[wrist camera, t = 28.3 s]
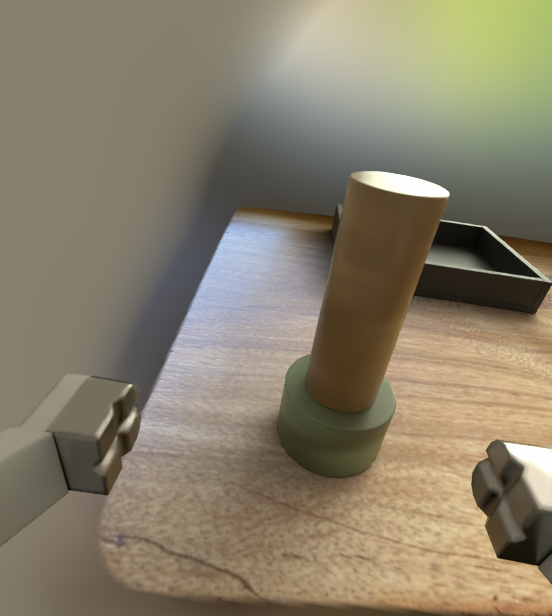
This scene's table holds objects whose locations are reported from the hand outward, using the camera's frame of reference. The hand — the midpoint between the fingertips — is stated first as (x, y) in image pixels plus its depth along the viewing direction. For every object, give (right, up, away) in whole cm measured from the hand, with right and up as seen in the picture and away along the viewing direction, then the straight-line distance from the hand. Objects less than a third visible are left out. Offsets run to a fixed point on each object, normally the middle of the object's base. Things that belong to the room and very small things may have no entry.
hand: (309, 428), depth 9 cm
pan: (+14, +7, +30) cm, 33 cm away
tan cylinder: (+2, -3, +10) cm, 10 cm away
